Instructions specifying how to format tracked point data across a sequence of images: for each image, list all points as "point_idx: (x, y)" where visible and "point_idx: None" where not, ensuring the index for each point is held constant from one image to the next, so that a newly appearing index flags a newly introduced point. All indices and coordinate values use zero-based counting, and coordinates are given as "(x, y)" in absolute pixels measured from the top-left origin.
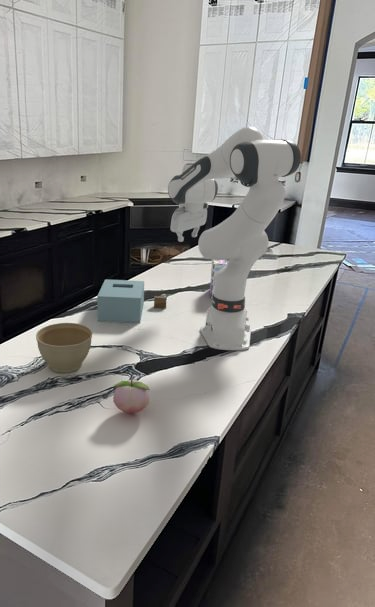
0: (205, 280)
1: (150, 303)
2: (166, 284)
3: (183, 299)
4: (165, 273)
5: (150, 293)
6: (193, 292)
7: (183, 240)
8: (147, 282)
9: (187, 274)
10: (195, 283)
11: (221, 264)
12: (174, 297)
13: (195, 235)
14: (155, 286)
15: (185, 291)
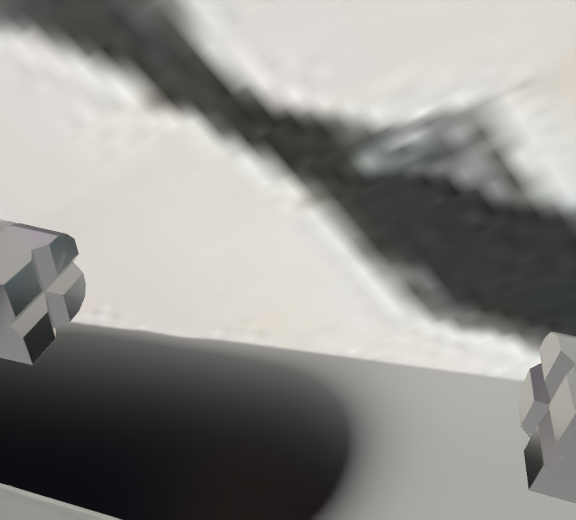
0: (6, 71)
1: (570, 159)
2: (223, 216)
3: (375, 12)
4: (110, 276)
5: (400, 227)
6: (215, 25)
7: (560, 339)
8: (267, 295)
9: (31, 192)
10: (88, 95)
11: None
12: (377, 84)
13: (27, 246)
14: (288, 247)
15: (237, 79)
